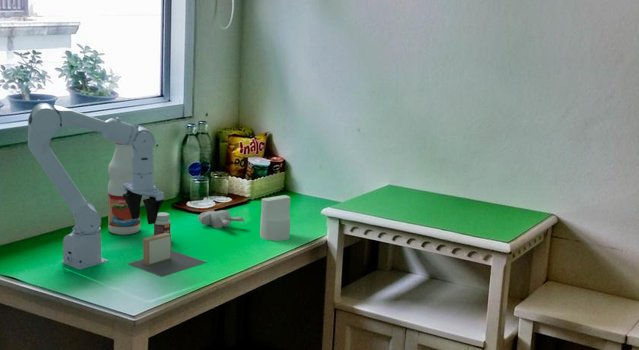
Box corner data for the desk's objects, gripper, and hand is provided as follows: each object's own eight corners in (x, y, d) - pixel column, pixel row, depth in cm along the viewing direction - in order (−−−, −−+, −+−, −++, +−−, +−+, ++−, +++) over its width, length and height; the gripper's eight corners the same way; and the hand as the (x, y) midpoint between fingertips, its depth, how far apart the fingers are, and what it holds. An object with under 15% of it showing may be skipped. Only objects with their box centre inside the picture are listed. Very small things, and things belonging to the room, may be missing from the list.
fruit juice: (134, 224, 259) (133, 135, 253) (144, 233, 252) (144, 141, 245) (104, 228, 255) (102, 137, 248) (114, 236, 247) (112, 143, 241)
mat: (161, 278, 215) (161, 276, 215) (126, 265, 224) (126, 263, 223) (207, 263, 227) (207, 262, 227) (172, 251, 236) (172, 250, 236)
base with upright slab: (271, 242, 248) (272, 203, 245) (254, 234, 255) (255, 196, 252) (295, 237, 254) (297, 199, 251) (278, 230, 260) (279, 192, 258)
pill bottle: (166, 245, 242) (166, 217, 240) (151, 243, 242) (151, 215, 241) (173, 240, 246) (173, 212, 244) (157, 238, 247) (157, 211, 245)
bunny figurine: (213, 206, 269) (246, 210, 260) (214, 222, 270) (247, 227, 260) (191, 212, 262) (224, 216, 252) (192, 228, 263) (225, 233, 253)
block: (148, 265, 223) (148, 240, 221) (143, 263, 224) (143, 238, 222) (171, 258, 229) (171, 234, 227) (166, 257, 230) (166, 232, 228)
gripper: (172, 174, 223) (172, 223, 227) (137, 165, 232) (138, 212, 235) (151, 178, 218) (152, 228, 221) (116, 169, 227) (117, 217, 230)
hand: (143, 220), depth 228 cm, fingers open, 6 cm apart
